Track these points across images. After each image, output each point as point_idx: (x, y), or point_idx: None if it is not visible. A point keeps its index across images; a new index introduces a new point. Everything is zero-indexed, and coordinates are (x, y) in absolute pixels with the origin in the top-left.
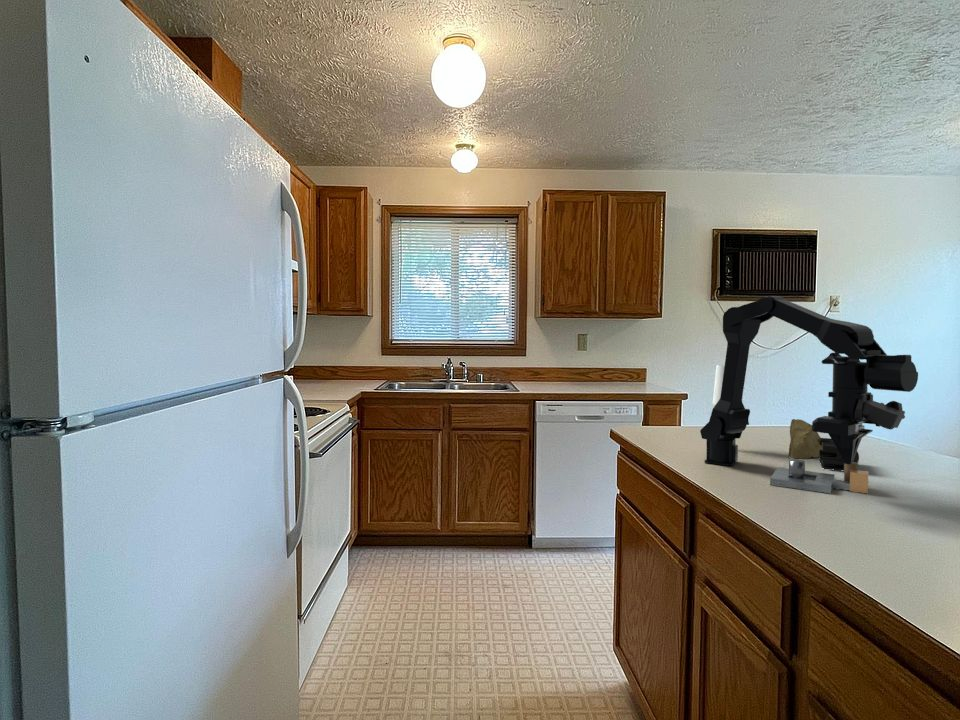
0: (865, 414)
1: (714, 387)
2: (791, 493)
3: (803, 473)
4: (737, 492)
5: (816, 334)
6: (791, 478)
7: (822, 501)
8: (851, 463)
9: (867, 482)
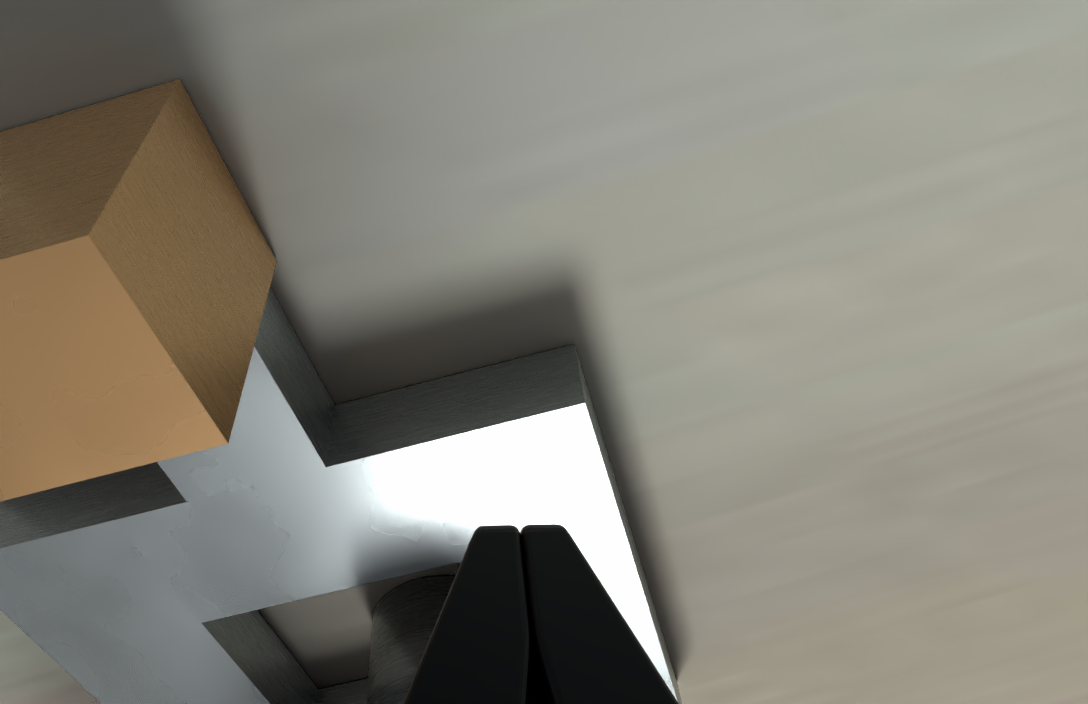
0: None
1: None
2: (834, 527)
3: None
4: (1057, 695)
5: None
6: None
7: (955, 291)
8: (530, 531)
9: (132, 166)
